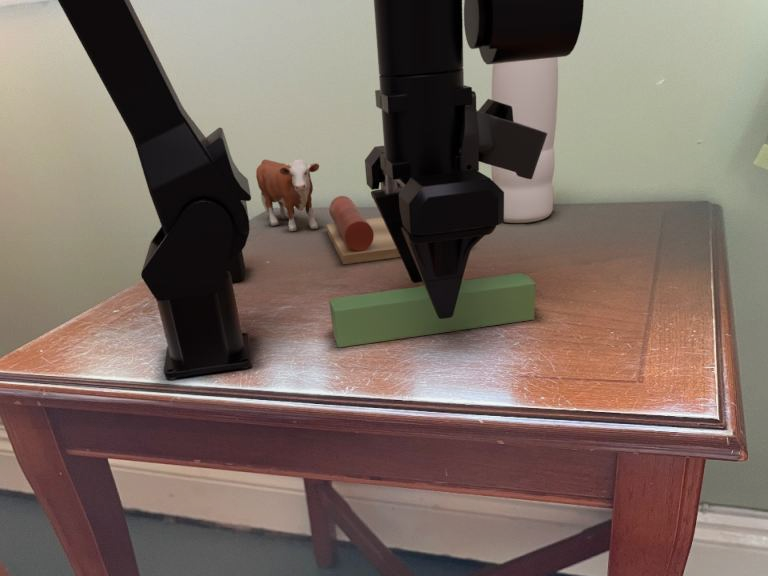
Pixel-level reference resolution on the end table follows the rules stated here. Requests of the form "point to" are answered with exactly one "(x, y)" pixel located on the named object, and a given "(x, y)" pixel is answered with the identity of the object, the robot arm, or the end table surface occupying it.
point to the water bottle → (536, 110)
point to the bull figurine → (287, 189)
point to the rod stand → (358, 234)
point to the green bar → (431, 310)
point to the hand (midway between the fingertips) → (431, 298)
